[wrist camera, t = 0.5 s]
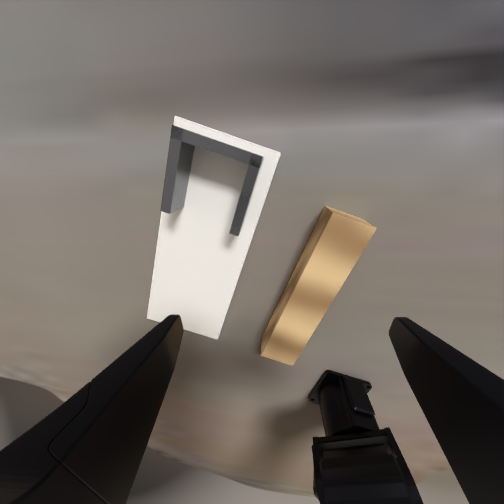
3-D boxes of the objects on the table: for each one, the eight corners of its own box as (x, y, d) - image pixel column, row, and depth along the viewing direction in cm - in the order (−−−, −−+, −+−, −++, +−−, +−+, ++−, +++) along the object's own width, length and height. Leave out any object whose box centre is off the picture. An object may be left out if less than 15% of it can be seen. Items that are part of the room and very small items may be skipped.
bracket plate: (219, 332, 27) (211, 360, 24) (151, 311, 27) (132, 337, 23) (280, 153, 19) (282, 151, 15) (180, 118, 18) (156, 107, 14)
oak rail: (290, 345, 28) (292, 365, 25) (261, 336, 28) (260, 355, 25) (362, 219, 21) (376, 228, 18) (324, 205, 20) (332, 212, 18)
